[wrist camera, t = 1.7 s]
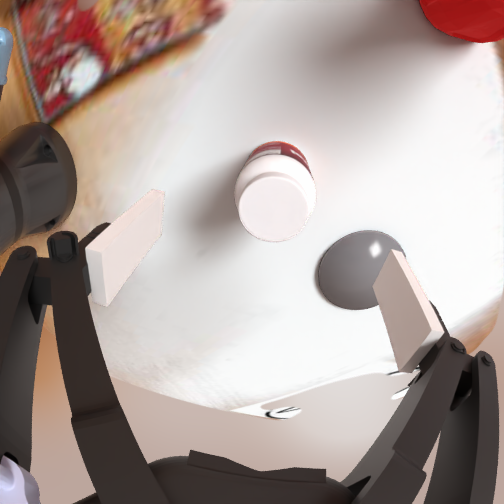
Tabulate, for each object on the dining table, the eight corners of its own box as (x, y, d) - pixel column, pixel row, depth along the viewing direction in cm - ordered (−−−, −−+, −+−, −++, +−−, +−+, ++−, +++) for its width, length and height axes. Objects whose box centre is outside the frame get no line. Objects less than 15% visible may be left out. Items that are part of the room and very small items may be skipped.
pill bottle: (316, 188, 29) (332, 239, 20) (259, 206, 31) (247, 263, 21) (296, 131, 26) (304, 152, 17) (236, 151, 28) (211, 185, 18)
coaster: (306, 297, 36) (306, 300, 36) (337, 219, 30) (338, 221, 30) (381, 313, 36) (382, 316, 36) (419, 244, 31) (421, 246, 30)
